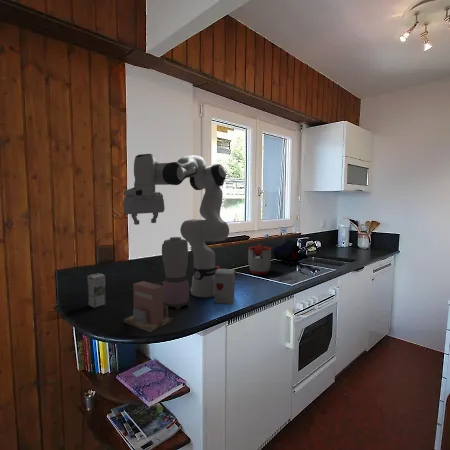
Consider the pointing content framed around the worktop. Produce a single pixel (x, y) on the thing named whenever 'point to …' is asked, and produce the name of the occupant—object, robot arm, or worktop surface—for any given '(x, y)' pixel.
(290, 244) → the dark blue bag
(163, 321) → the beige panel with ridge
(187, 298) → the blender
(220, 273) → the supplement box
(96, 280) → the syrup box
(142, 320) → the grey thin rectangular slab
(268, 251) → the citrus juicer
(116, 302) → the worktop surface
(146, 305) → the boxed book
